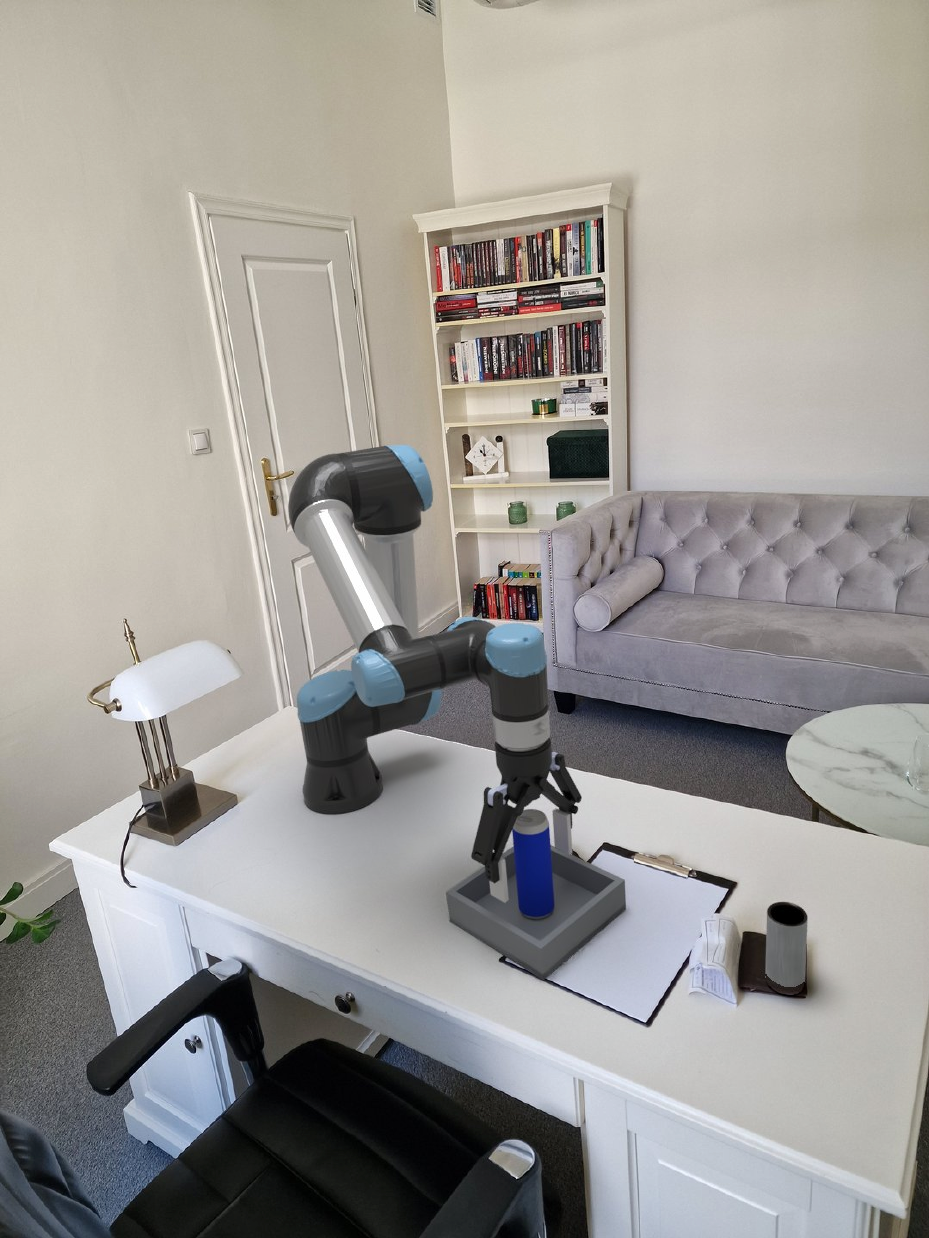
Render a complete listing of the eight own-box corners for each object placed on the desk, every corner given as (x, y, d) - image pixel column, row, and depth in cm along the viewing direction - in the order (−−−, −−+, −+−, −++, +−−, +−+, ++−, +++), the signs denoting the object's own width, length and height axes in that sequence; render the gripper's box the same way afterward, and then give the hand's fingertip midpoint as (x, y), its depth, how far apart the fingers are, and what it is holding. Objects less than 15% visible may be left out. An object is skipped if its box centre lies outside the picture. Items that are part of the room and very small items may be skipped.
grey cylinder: (758, 984, 100) (760, 915, 97) (775, 963, 103) (777, 896, 100) (794, 1002, 97) (797, 931, 94) (811, 980, 100) (814, 911, 97)
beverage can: (557, 899, 118) (551, 809, 113) (551, 922, 113) (545, 829, 108) (522, 895, 119) (515, 806, 114) (515, 918, 114) (507, 826, 110)
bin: (449, 920, 117) (445, 891, 115) (532, 862, 128) (529, 834, 127) (543, 980, 104) (541, 948, 103) (626, 909, 116) (624, 879, 114)
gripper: (475, 787, 97) (490, 931, 104) (602, 712, 113) (607, 842, 120) (434, 768, 102) (450, 906, 109) (560, 699, 118) (568, 824, 125)
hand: (532, 873), depth 114 cm, fingers open, 13 cm apart
